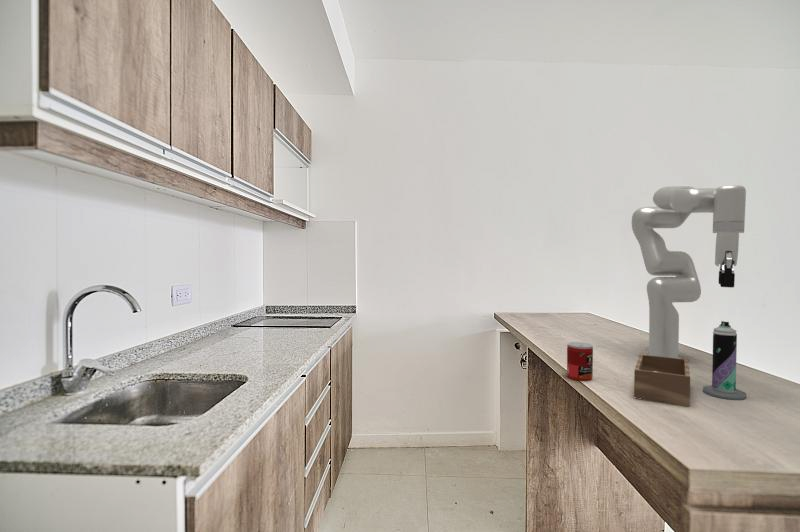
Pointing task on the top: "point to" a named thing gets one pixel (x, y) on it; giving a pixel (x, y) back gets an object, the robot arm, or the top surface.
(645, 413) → the top surface
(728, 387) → the spray can
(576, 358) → the canned food
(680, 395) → the wooden box
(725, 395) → the mat
